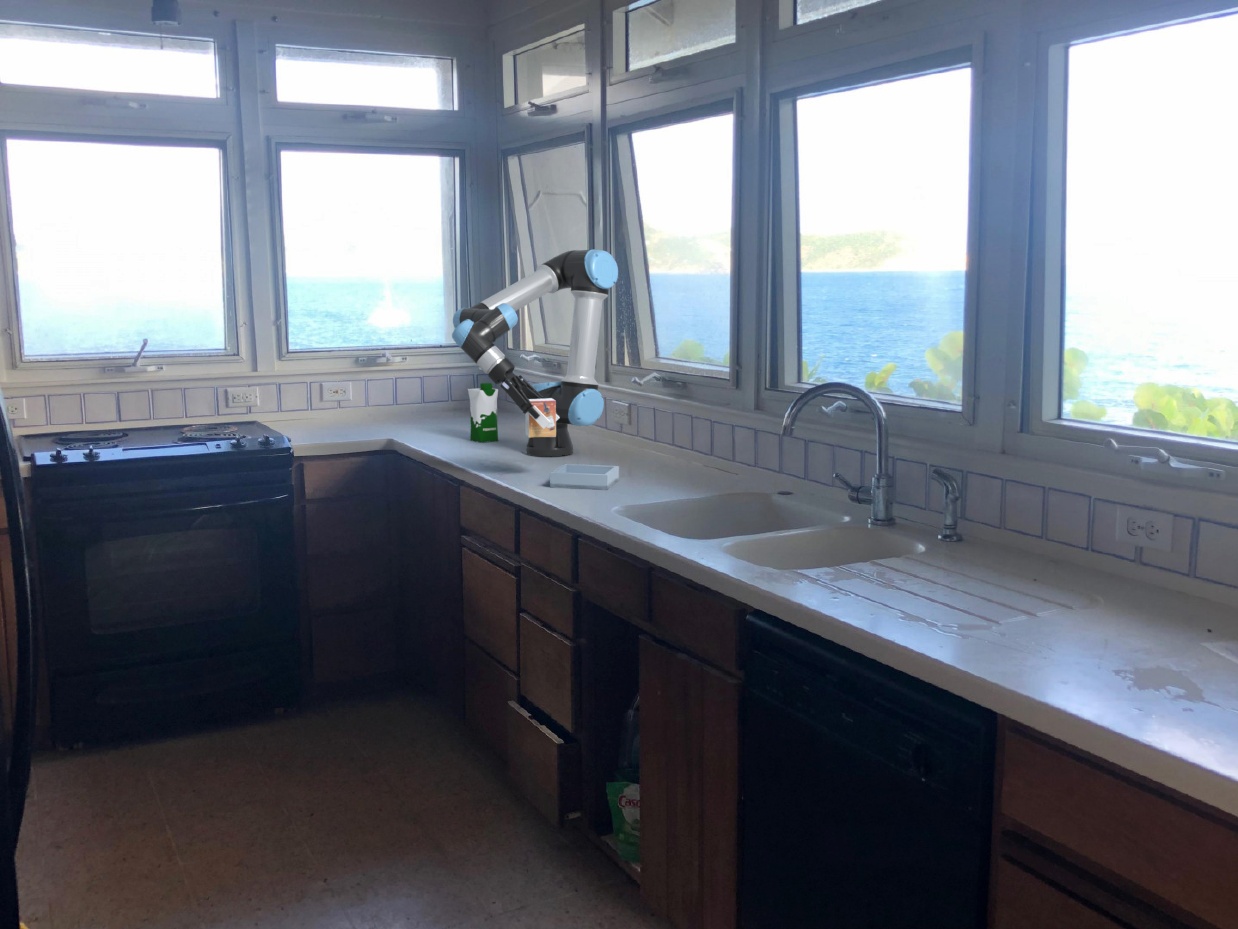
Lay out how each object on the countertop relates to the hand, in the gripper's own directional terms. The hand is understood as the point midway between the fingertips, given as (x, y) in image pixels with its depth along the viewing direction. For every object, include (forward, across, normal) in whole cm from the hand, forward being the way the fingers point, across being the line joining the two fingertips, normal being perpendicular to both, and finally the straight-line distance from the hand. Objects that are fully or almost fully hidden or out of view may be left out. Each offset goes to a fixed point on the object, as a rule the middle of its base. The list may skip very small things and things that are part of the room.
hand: (551, 423), depth 306 cm
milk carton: (-19, -60, -41) cm, 75 cm away
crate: (+19, +8, -3) cm, 21 cm away
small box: (0, 0, -5) cm, 5 cm away
